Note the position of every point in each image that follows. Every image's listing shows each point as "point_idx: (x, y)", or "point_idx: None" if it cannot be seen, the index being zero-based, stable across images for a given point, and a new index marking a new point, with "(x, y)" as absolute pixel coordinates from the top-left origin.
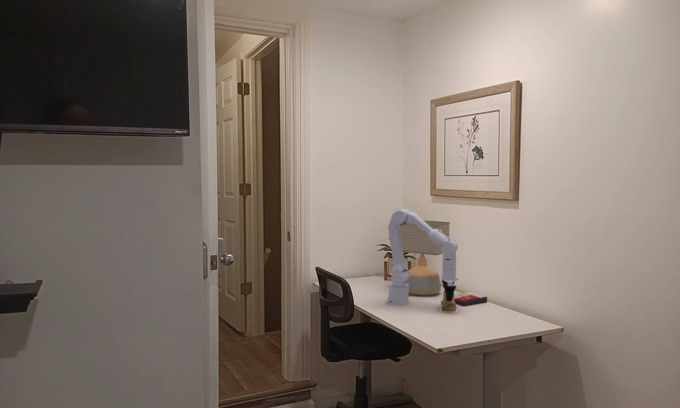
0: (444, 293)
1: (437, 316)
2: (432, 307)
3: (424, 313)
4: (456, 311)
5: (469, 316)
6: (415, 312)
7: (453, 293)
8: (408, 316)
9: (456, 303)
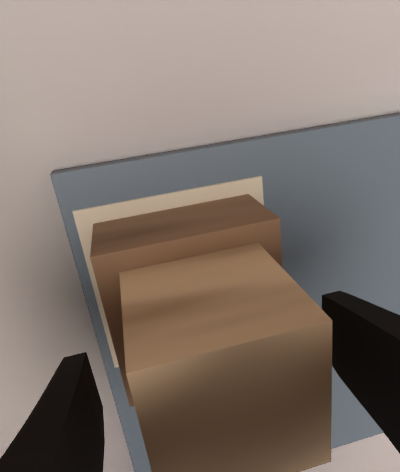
0: (326, 455)
1: None
2: (105, 412)
3: None
4: (245, 186)
5: (334, 29)
6: None
7: (300, 342)
8: (391, 465)
9: None
